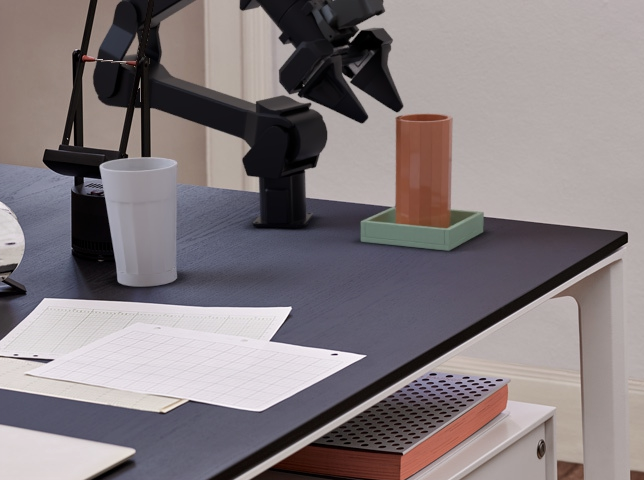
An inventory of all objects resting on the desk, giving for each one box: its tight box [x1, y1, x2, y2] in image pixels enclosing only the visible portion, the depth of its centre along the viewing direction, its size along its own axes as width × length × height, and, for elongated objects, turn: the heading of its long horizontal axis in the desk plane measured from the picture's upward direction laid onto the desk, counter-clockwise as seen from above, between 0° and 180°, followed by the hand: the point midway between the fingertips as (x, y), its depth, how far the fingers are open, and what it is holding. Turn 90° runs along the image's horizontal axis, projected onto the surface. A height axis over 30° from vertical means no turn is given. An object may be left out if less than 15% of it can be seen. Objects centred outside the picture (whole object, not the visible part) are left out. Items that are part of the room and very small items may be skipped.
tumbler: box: [394, 112, 453, 229], centre depth 156 cm, size 6×6×13 cm
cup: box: [99, 156, 178, 288], centre depth 142 cm, size 8×8×12 cm
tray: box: [360, 205, 485, 252], centre depth 159 cm, size 11×10×2 cm
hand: (383, 115), depth 156 cm, fingers open, 9 cm apart
